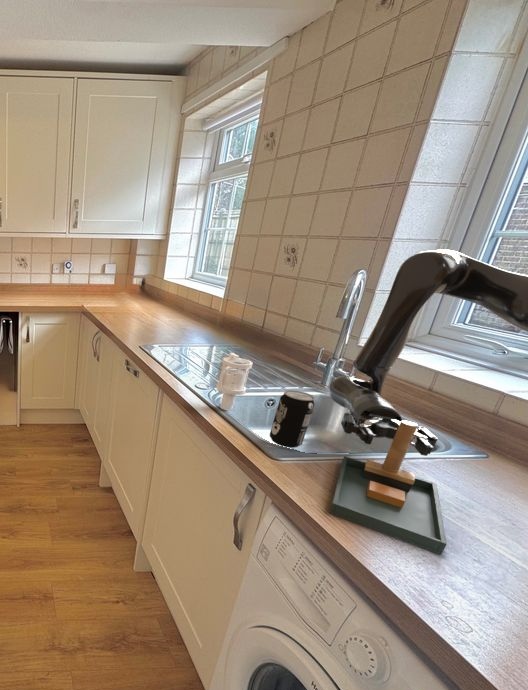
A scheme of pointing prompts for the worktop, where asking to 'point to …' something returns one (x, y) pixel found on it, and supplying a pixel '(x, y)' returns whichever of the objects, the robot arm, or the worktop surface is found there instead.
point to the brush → (394, 461)
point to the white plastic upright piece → (232, 379)
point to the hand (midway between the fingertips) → (397, 445)
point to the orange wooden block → (386, 494)
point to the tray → (390, 508)
